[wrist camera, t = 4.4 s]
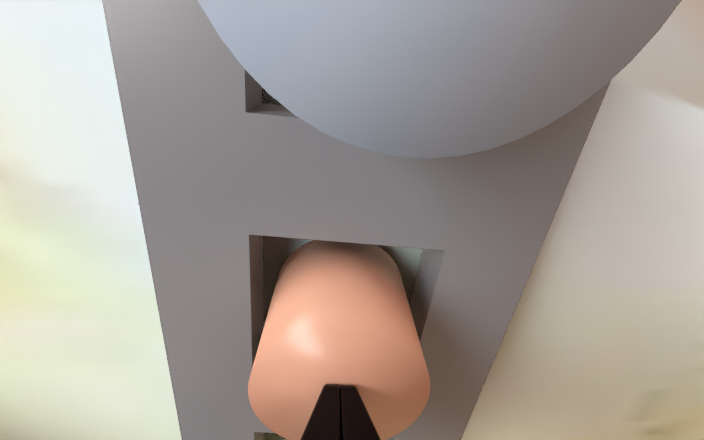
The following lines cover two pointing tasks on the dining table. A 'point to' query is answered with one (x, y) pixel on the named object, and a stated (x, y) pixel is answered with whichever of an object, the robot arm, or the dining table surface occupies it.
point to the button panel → (313, 218)
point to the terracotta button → (338, 340)
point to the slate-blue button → (434, 64)
